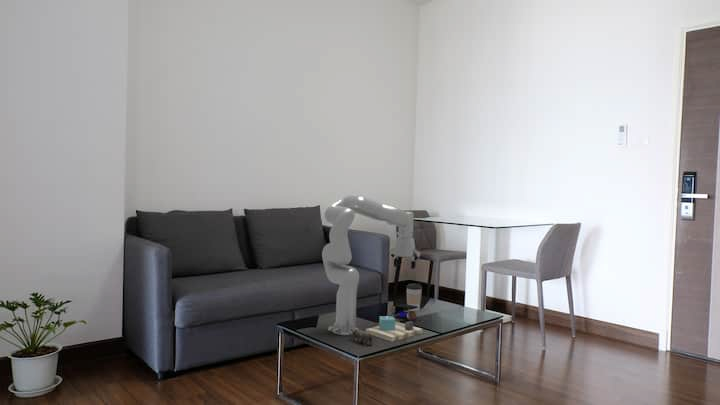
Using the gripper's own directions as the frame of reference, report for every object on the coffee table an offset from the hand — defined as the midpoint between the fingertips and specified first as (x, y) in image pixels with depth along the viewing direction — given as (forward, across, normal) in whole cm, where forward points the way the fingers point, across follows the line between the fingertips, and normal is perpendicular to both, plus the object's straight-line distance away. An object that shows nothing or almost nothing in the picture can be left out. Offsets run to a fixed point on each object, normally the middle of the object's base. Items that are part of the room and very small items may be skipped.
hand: (404, 267), depth 269 cm
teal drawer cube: (+26, +3, -25) cm, 37 cm away
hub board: (+28, +6, -24) cm, 38 cm away
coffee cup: (+28, -4, +26) cm, 38 cm away
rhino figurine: (+29, 0, -46) cm, 55 cm away
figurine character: (+28, -1, +5) cm, 29 cm away
